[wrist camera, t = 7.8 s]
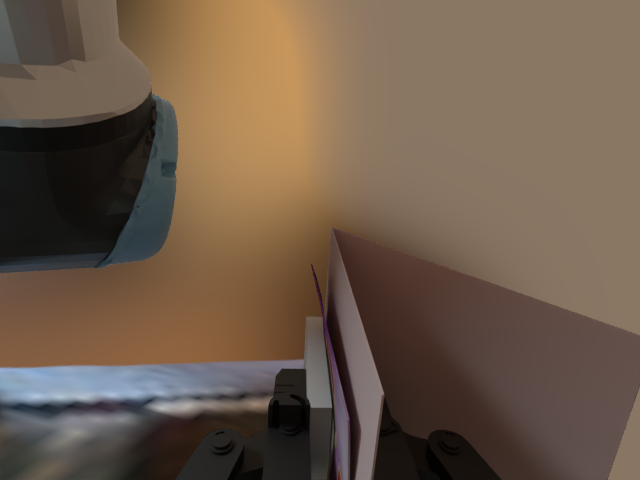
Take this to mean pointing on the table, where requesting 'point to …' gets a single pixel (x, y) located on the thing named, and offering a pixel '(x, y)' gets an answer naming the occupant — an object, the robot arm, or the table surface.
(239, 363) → the table surface
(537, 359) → the greeting card
